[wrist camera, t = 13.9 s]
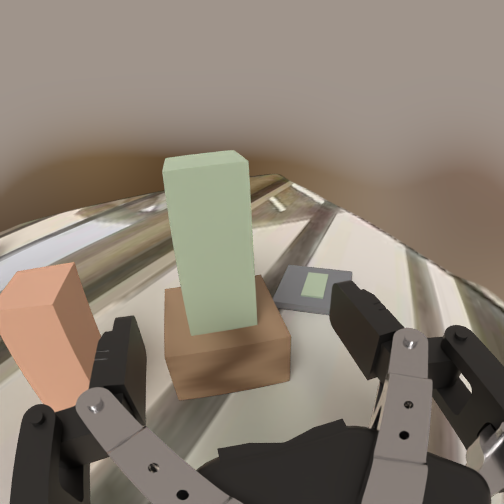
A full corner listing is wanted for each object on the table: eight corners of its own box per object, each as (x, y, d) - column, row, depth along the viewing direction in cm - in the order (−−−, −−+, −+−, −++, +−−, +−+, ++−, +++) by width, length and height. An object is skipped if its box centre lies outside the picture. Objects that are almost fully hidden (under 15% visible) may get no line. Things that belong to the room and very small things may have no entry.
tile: (271, 307, 34) (271, 299, 33) (288, 270, 41) (288, 263, 40) (346, 317, 31) (348, 309, 31) (351, 277, 38) (352, 270, 38)
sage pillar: (191, 335, 23) (162, 171, 17) (187, 298, 27) (165, 158, 22) (257, 324, 24) (248, 161, 18) (244, 289, 28) (233, 150, 23)
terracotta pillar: (64, 430, 19) (-12, 311, 14) (72, 386, 24) (17, 271, 18) (118, 430, 20) (52, 304, 15) (122, 384, 24) (74, 262, 19)
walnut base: (179, 400, 23) (164, 357, 21) (174, 330, 31) (164, 289, 29) (289, 380, 25) (290, 336, 22) (262, 316, 32) (260, 274, 30)
